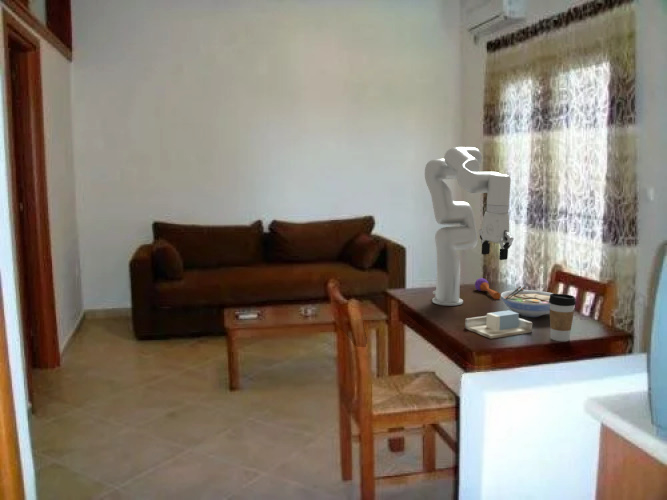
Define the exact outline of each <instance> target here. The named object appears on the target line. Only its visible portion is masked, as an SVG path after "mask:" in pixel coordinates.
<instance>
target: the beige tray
mask: <svg viewBox="0 0 667 500" xmlns="http://www.w3.org/2000/svg"><path fill="white" fill-rule="evenodd" d="M486 322H487V315H483V316H474V317H467V318H465V319H464V329H466V330H468V331H470V332H473V333H475V334H478V335H480V336H483V337H486V338H488V339H492V340H493V339H498V338H503V337H511V336H517V335H523V334H528V333H532V332H533V322H532V321H530V320H527V319H524V318H520V317H519V320H518V327H517V328H510V329H504V330H498V331H495V330H492V329H490V328H487V327H486Z"/></svg>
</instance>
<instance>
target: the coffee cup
mask: <svg viewBox="0 0 667 500" xmlns="http://www.w3.org/2000/svg"><path fill="white" fill-rule="evenodd" d="M549 303H550V313H549V325H550V339H551V340H553V341H557V342H568V341H570V340H571V339H570V338H571V331H572V325H573V319H574V313H575V310H574V308H575V305H576V303H577V302H576V297H575V296H574V295H571V294H563V293H553V294H550V299H549Z"/></svg>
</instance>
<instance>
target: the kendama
mask: <svg viewBox="0 0 667 500" xmlns="http://www.w3.org/2000/svg"><path fill="white" fill-rule="evenodd" d="M474 287H475V289H476V290H477V291H478V292H488V293H489V295H490V296H491V298H492V299H494V300H500V299H501V293H500V292H498V291H496V290H493V289H491V288H490V285H489V281H488V280H487V279H486V278H483V277H479V278H478V279H476V281H475V283H474Z"/></svg>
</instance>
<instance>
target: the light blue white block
mask: <svg viewBox="0 0 667 500" xmlns="http://www.w3.org/2000/svg"><path fill="white" fill-rule="evenodd" d="M486 316H487V322H486V327H487V328H490V329H492V330H495V331H498V330H504V329H510V328H517V327H518V320H519V318H520V314H519V313H516V312H514V311H512V310H511V309H509V310H500V311H495V312H494V311H493V312H487V313H486Z"/></svg>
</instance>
